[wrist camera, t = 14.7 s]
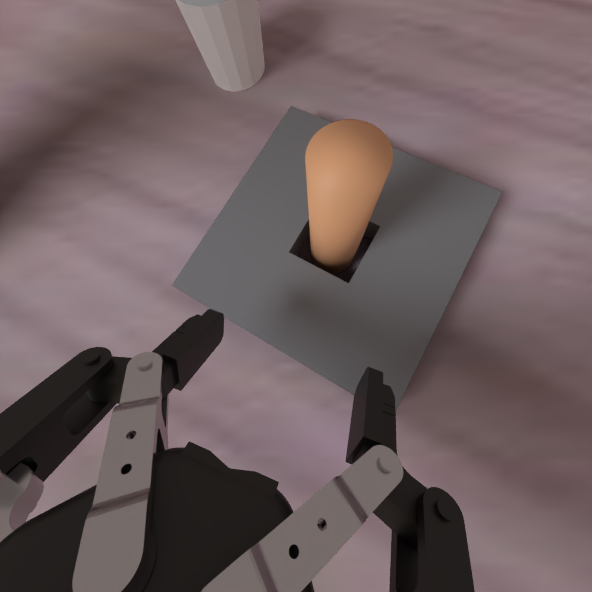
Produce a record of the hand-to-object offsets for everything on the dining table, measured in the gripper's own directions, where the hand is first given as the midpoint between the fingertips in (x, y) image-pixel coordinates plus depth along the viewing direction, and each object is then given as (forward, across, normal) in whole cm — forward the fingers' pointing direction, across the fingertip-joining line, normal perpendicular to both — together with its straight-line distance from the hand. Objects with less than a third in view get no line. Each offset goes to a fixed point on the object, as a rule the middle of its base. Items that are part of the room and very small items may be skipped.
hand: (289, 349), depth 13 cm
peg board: (+11, 0, -1) cm, 11 cm away
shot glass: (+22, +15, -12) cm, 30 cm away
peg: (+11, 0, -1) cm, 11 cm away
